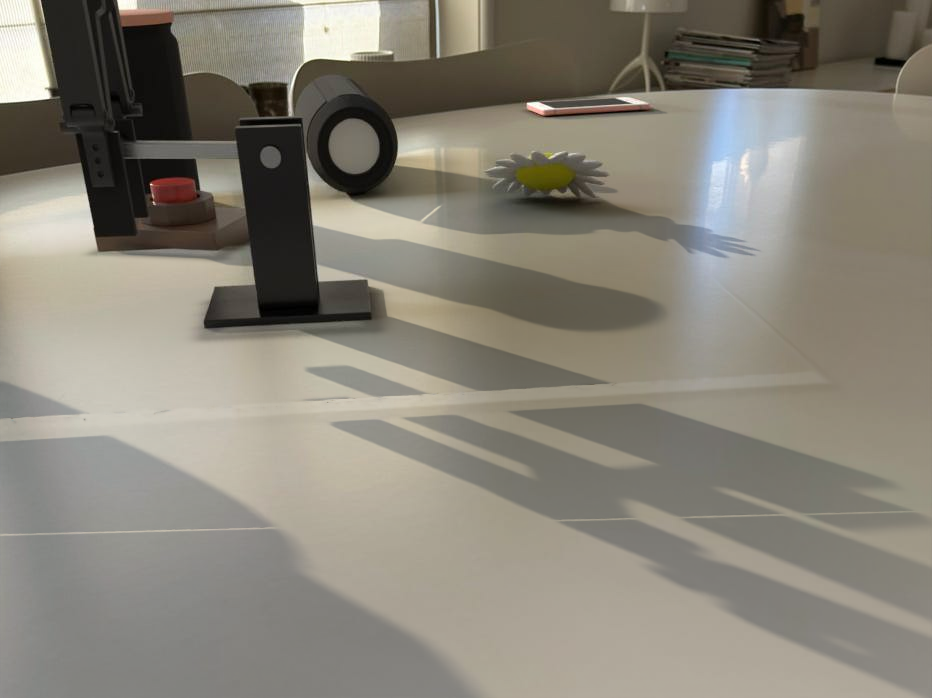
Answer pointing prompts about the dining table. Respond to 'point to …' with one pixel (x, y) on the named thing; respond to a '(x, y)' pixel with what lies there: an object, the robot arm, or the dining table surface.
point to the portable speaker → (346, 134)
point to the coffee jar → (157, 90)
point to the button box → (183, 227)
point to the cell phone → (587, 106)
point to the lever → (179, 149)
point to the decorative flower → (547, 173)
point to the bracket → (281, 238)
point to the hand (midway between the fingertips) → (123, 225)
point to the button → (173, 190)
